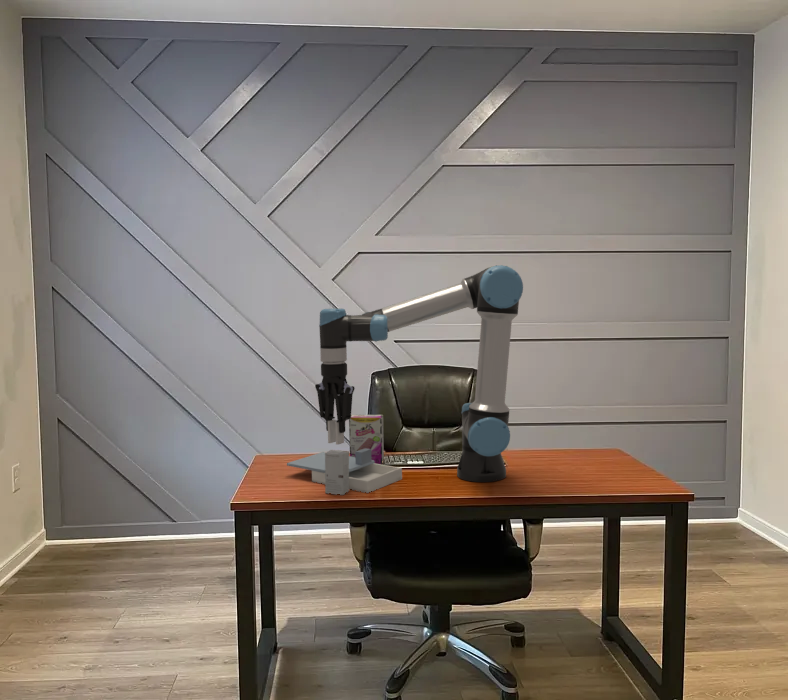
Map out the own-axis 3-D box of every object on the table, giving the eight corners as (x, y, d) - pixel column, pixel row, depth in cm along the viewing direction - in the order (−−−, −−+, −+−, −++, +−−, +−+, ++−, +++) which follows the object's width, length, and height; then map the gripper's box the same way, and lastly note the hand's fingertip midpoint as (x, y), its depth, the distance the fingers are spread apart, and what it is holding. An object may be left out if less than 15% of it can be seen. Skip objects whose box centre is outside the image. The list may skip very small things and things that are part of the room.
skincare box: (324, 493, 202) (323, 452, 201) (331, 489, 206) (330, 449, 205) (344, 495, 200) (342, 454, 199) (350, 491, 204) (349, 450, 203)
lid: (374, 463, 221) (374, 448, 220) (339, 475, 207) (338, 459, 207) (323, 454, 234) (322, 440, 234) (286, 465, 220) (286, 450, 220)
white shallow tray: (402, 479, 215) (401, 467, 215) (367, 493, 201) (367, 481, 201) (347, 469, 228) (347, 458, 228) (312, 481, 214) (311, 470, 214)
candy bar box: (349, 465, 233) (348, 417, 231) (352, 461, 238) (350, 414, 236) (382, 465, 232) (381, 417, 230) (384, 461, 237) (383, 414, 235)
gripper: (362, 362, 198) (364, 443, 200) (322, 359, 207) (325, 437, 209) (345, 365, 192) (347, 448, 194) (305, 362, 201) (307, 442, 203)
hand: (336, 442), depth 202 cm, fingers open, 2 cm apart
